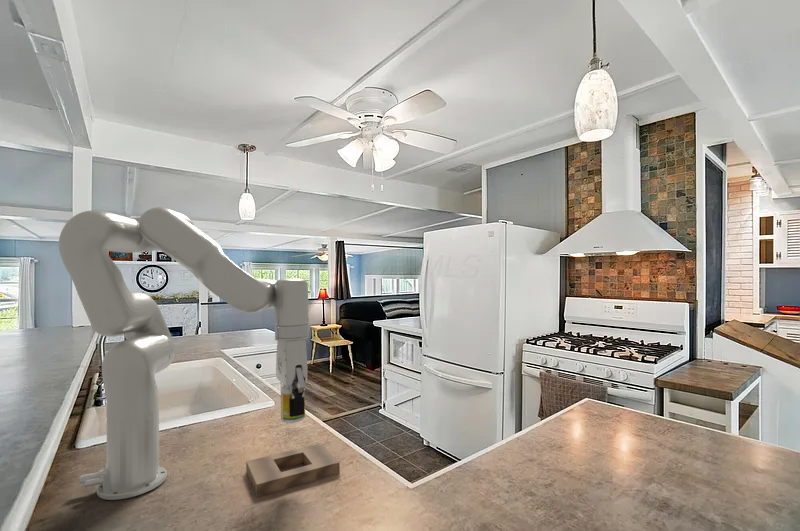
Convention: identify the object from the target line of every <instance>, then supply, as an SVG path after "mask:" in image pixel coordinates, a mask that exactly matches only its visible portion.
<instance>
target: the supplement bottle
mask: <svg viewBox="0 0 800 531" xmlns="http://www.w3.org/2000/svg"><path fill="white" fill-rule="evenodd" d="M292 383H293V384H295V383H297V381H293V382H292ZM295 388H297V386H295V387H294V390H295ZM305 392H306V387H305V388H304V414H303V415H299V416H294V417H291V416H290V413H289V398H291V394H290V384H289V386H283V387H282V386H281V389H280V420H281V421H282V423H285V424H286V423H287V424H288V423H289V424H294V423H299V422H302V421H303V420H305V418H306V393H305Z"/></svg>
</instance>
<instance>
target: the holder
mask: <svg viewBox="0 0 800 531" xmlns="http://www.w3.org/2000/svg"><path fill="white" fill-rule="evenodd" d="M245 462H246V466H245V467H246V468H245V471H246V472H245V473H246V475H247V477H248V480H249V482H250V484H251V487H252V489H253V491H254V493H255V496H256V498H258V497H261V496H265V495H268V494H269V495H270V494H273V493H276V492H279V491H283V490H286V489H287V490H288V489H290V488H293V487H297V486H300V485H304V484H308V483H311V482H315V481H318V480H322V479H325V478H328V477H331V476H335V475H340V473H341V472H340V465H341V464H340V461H338V459H337V458H336V457H335V456H334V455H333V454H332V452H331V451H330V450H328V448H326V447H325V445H324V444H323V443H322V442H321V443H318V444H313V445H309V446H305V447H300V448H296V449H293V450H292V449H291V450H289V451H284V452H279V453H274V454H272V455H267V456H264V457H263V456H262V457H258V458H255V459H249V460H247V461H245ZM300 464H303V465H304V466H300V467H296V468H291V469H288V470H284V471H281V469H285V468H289V467H293V466H296V465H300Z"/></svg>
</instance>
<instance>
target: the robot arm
mask: <svg viewBox="0 0 800 531" xmlns="http://www.w3.org/2000/svg"><path fill="white" fill-rule="evenodd" d="M58 251H59V256H60V258H61V260H62V262H63V264H64V267H65V269H66V271H67V272H68V274H69V276H70V279H71V280H72V282H73V285H74V287H75V289H76V290H75V291H76V292H77V296H78V297H79V301H80V302H81V305H82V307H83V309H84V311H85V313H86V316H87V318H88V321H89V323H90V325H91V326H92V328H93V330H94V331H95V333H97V334H98V335H100V336H103V337H107V338H108V337H109V338H111V337H119V336H124V338H125V339H124V340H122V341H120V342H117V343H116V344H114V345H113V346H112V347H111V348H110V349H109V350H108V351H107V352H106V353H105V355H104V357H103V359H102V362H101V375H102V380H103V385H104V389H105V400H106V401H105V402H106V405H105V409H106V414H105V415H106V454H105V455H106V464H105V465H104V466H105V467H104V468H103V469H99V471H96V472H91V473H84V474H81V475H80V477H79V486H82V485H84V488H85V489H86V488H91V487H94V486H97V487H96V495H97V497H98V498H100V499H102V500H108V501H109V500H110V501H116V500H123V499H124V500H125V499H129V498H134V497H136V496H140V495H143V494H146V493H147V492H149V491H152V490H155V489H156V488H158V487H159V486H161V484H163V483H164V482H165V481H166V479H167V476H168V471H167V469H166V468H165V467H163V466H160V396H159V390H158V385H157V382H156V377H155V375H156V374H158V373H160V372H162V371H163V370H165V369H166V368H167V369H168V367H170V366H171V364H172V362H174V359H175V357H176V346H175V342H174V338H173V336H172V334H171V332H170V330H169V328H168V325H167V323H166V321H165V318H164V316H163V314H162V311H161V310H160V306H159V305H158V304H157V302H156V301H155V300H154V299H153V298H152V296H149V295H148V294H146V293H144V292H140V291H131V290H130V289H129V288H128V286H127V284H126V282H125V280H124V278H123V274H122V272H121V270H120V268H119V267H118V266H117V265H116V262H114V260H113V259H112V258H111V256H110V254H109V252H114V253H122V254H123V253H127V254H128V253H129V254H132V253H144V252H151V251H152V252H153V251H155V252H156V251H161V252H162V253H164V254H165V255H166V256H168V257H170V259H173V260H174V261H175V262H176V263H178V264H179V265H181V266H182V267H184V268H185V269H186V270H188V271H190V273H192V274H193V275H194V277H195V278H196V279H197V280H198V281H199V282H200V283H201V284H203V286H204V287H205V288H207V289H208V290H209V291H211V293H213V294H214V295H215V296H216V297H218V298H219V299H221V300H222V301H223V302H225V303H227V304H228V305H230V307H232V308H234V309H236V310H237V311H239V312H240V313H241V312H242V313H244V314H249V315H251V314H256V313H259V312H263V311H266V310H271V309H274V340H275V341H276V342H277V343H276V358H275V359H276V363H275V378H276V379H277V381H279V382H280V383H281V388H282V387H283V386H289V384H290V394H291V398H289V413H290V416H291V417H294V416H299V415H303V414H304V388H305V389H306V382H308V355H307V353H308V352H307V344H306V343H307V342H306V340H307V339H309V338H310V335H309V334H310V331H309V330H310V328H309V284H308V281H307V280H305V279H303V278H281V279H267V278H255V277H254V276H252V275H251V274H249V273H248V272H246V271H245V270H244V269H242V268H241V267H239V266H238V265H237V264H236V263H235V262H233V261H232V260H231V259H229V257H228V256H227V255H226V254H225V253H224V251H223V248H222V246H221V245H220V244H219V243H218V242H217V241H216V240H214V239H213V238H211V237H210V236H209V235H207V234H205V232H203V231H201V230H200V229H199V228H197V227H196V226H195V224H194V223H193V221H192V220H191V219H190V218H189V217H188V216H187V215H186V214H183V213H181V212H178V211H175V210H172V209H170V208H167V207H162V206H161V207H152V208H150V209H148V210H145V212H143V213H142V215H141V216H137V217H127V216H124V215H120V214H116V213H113V212H111V211H106V210H105V211H103V210H95V209H93V210H85V211H82V212H79V213H77V214H75V215H73V216H72V217H71V218H70V219H69V220H68V221H66V223H65V225H64V226H63V228H62V230H61V232H60V235H59V238H58ZM293 381H297V383H295V384H293V383H292V382H293ZM295 386H297V388H295V390H294V387H295Z"/></svg>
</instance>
